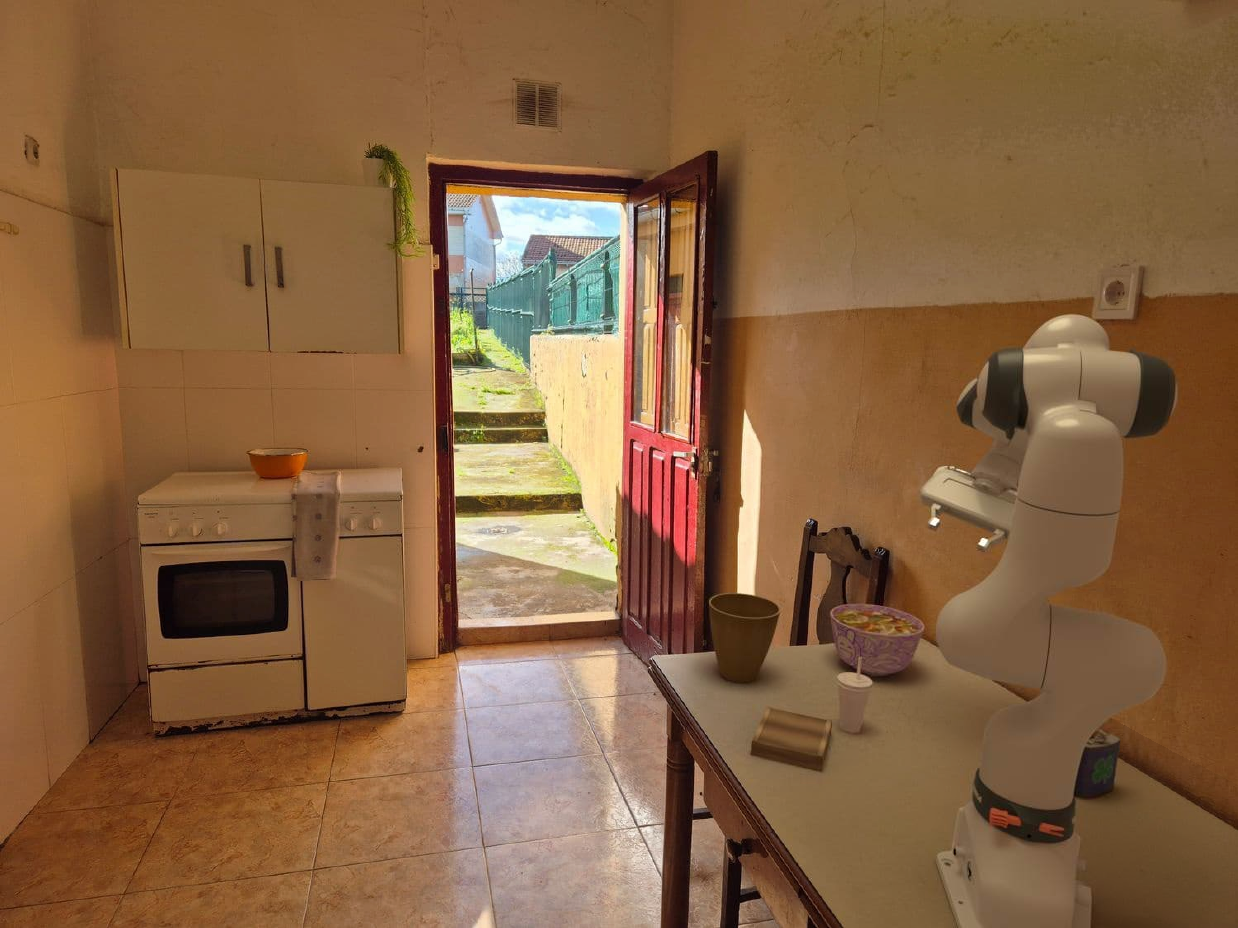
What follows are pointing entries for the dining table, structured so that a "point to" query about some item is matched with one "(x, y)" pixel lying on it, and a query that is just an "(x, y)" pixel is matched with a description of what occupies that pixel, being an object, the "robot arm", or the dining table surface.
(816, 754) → the board
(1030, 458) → the robot arm
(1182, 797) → the dining table surface
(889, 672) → the bowl of food
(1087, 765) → the flask
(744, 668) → the plant pot
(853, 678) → the smoothie
